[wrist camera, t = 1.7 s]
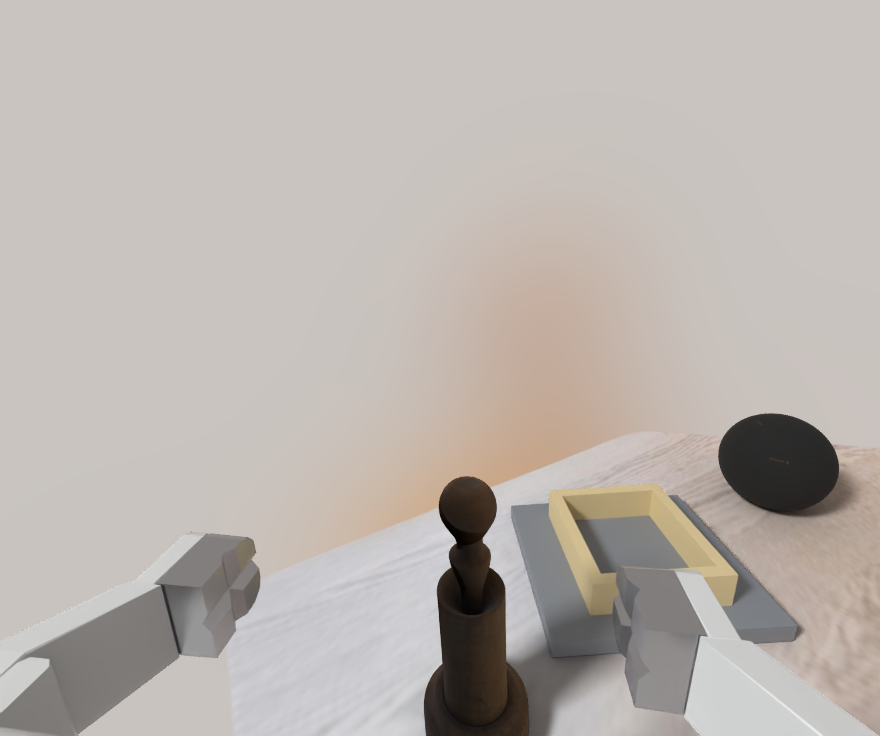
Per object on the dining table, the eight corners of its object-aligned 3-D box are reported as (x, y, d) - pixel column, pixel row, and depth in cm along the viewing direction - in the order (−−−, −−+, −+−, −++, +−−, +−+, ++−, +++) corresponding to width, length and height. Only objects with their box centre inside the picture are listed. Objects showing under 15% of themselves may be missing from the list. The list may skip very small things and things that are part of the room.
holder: (675, 506, 47) (680, 470, 46) (793, 640, 32) (806, 593, 31) (511, 517, 47) (511, 481, 46) (551, 657, 32) (553, 610, 30)
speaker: (751, 534, 43) (770, 444, 39) (694, 477, 52) (705, 401, 49) (853, 529, 42) (880, 438, 39) (777, 473, 52) (794, 396, 49)
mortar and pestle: (482, 655, 32) (475, 440, 27) (550, 732, 27) (560, 487, 21) (406, 714, 29) (380, 480, 23) (468, 815, 24) (454, 547, 18)
